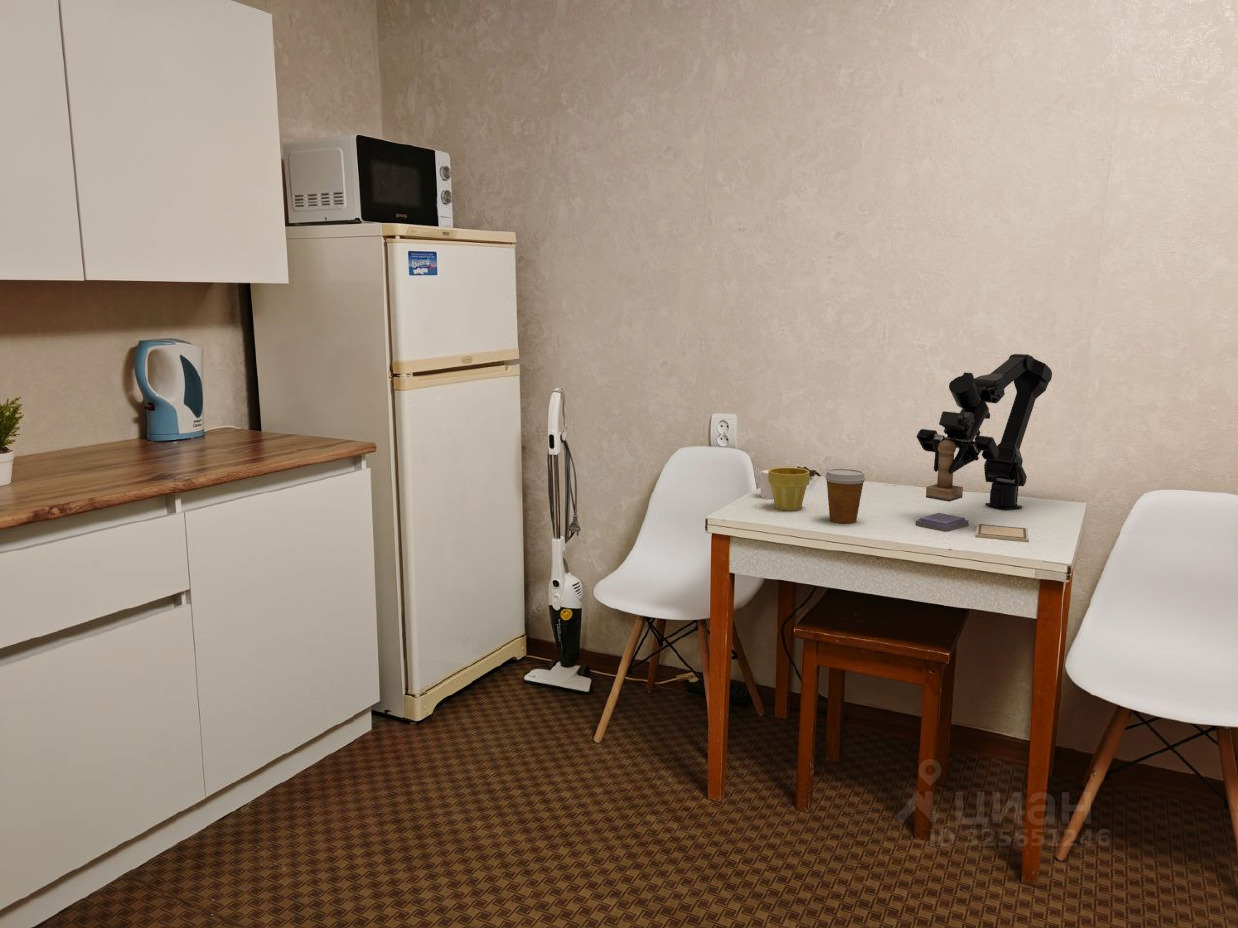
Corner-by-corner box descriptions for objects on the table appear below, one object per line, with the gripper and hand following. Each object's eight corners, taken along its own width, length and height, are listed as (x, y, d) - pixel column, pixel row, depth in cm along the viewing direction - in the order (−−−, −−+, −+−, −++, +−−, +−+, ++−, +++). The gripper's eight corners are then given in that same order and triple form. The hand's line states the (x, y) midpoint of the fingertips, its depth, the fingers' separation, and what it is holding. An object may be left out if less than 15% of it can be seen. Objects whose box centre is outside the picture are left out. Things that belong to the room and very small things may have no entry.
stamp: (939, 493, 226) (942, 436, 223) (962, 497, 221) (965, 439, 219) (925, 497, 222) (928, 439, 219) (949, 501, 217) (952, 442, 215)
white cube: (768, 500, 249) (769, 474, 247) (753, 495, 255) (754, 470, 253) (789, 498, 252) (790, 472, 251) (773, 493, 258) (774, 468, 257)
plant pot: (763, 510, 237) (764, 472, 235) (771, 502, 246) (772, 465, 245) (804, 513, 233) (806, 475, 232) (811, 505, 243) (812, 468, 241)
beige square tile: (977, 526, 222) (977, 523, 222) (1027, 530, 218) (1027, 527, 218) (975, 536, 212) (975, 533, 212) (1028, 541, 208) (1028, 538, 207)
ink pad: (937, 519, 229) (937, 511, 228) (968, 524, 223) (968, 517, 223) (915, 525, 222) (915, 517, 222) (946, 531, 216) (946, 524, 216)
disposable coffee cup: (870, 523, 223) (873, 474, 221) (835, 526, 221) (837, 476, 219) (850, 515, 232) (852, 467, 230) (815, 517, 230) (817, 469, 228)
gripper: (922, 395, 227) (895, 445, 221) (997, 402, 213) (969, 455, 208) (937, 425, 233) (911, 474, 228) (1010, 433, 220) (984, 485, 214)
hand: (942, 471), depth 219 cm, fingers closed on stamp, 3 cm apart
